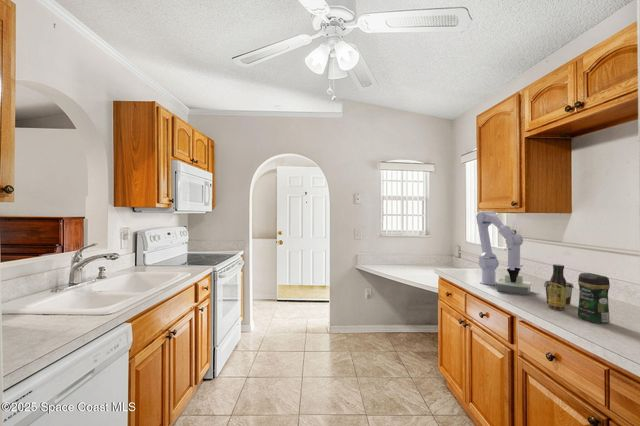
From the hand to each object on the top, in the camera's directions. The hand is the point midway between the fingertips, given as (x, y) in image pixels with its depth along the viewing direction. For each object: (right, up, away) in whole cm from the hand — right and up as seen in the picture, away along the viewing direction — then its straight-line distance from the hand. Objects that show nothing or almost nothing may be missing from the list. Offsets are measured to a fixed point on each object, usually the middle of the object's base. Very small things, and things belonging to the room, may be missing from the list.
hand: (513, 281), depth 177 cm
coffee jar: (+3, -6, -48) cm, 48 cm away
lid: (0, -1, 0) cm, 1 cm away
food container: (+6, -6, -23) cm, 24 cm away
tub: (0, -5, 0) cm, 5 cm away
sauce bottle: (0, -6, -33) cm, 33 cm away
